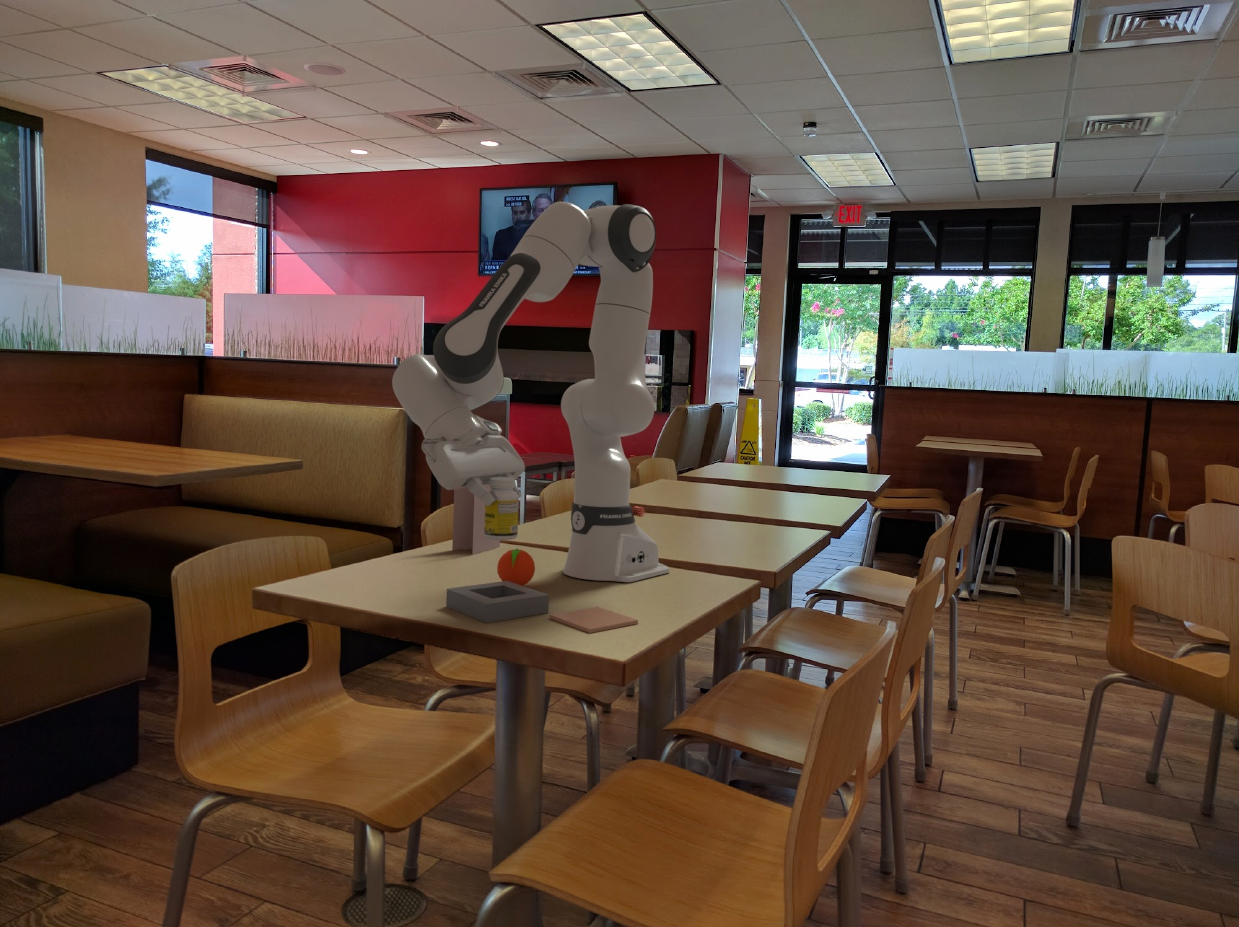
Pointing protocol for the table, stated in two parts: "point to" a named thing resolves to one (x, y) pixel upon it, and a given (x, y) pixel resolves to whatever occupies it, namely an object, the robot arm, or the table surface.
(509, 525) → the supplement bottle
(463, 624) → the table surface
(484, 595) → the pocket holder
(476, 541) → the greeting card
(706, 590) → the table surface
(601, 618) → the coaster
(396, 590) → the table surface
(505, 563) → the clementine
